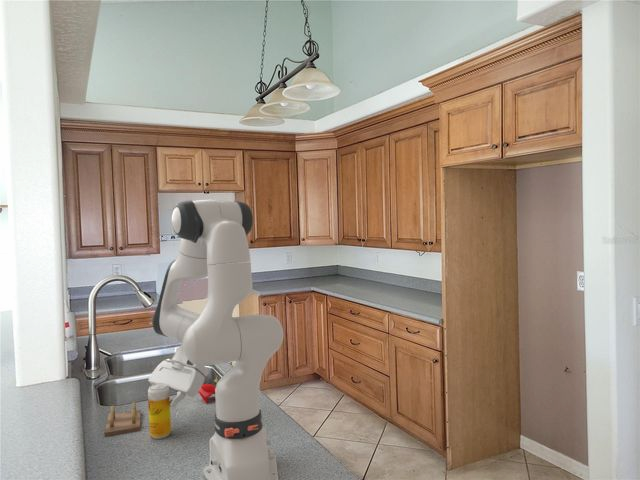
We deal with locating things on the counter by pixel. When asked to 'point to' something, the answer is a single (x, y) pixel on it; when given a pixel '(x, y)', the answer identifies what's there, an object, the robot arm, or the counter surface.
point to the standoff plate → (123, 421)
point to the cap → (207, 391)
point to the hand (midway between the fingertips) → (161, 403)
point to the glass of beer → (159, 410)
